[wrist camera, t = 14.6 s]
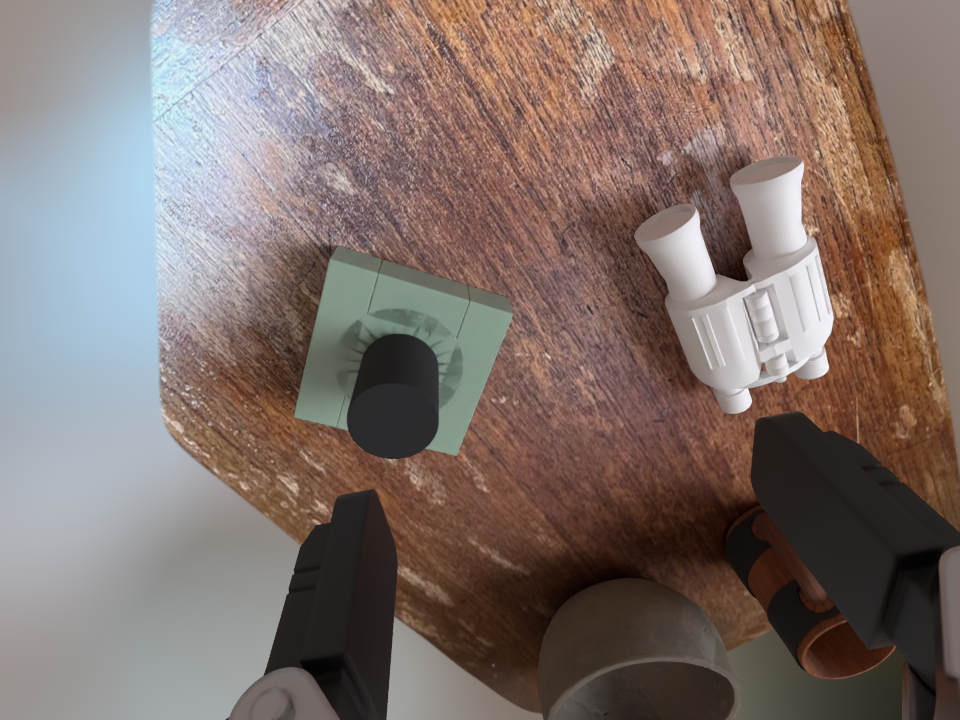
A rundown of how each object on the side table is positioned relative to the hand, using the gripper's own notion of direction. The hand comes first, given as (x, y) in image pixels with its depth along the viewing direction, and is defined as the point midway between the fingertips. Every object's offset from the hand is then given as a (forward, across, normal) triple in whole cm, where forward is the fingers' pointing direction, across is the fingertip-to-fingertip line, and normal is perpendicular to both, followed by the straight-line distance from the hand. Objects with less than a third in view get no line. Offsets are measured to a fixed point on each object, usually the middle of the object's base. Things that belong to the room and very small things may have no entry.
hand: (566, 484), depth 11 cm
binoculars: (+27, -17, +9) cm, 33 cm away
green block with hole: (+26, +7, +9) cm, 29 cm away
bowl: (+26, -6, +42) cm, 50 cm away
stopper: (+26, +7, +9) cm, 29 cm away
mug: (+26, -20, +33) cm, 47 cm away
